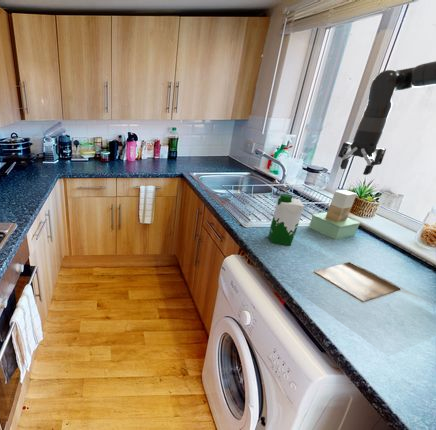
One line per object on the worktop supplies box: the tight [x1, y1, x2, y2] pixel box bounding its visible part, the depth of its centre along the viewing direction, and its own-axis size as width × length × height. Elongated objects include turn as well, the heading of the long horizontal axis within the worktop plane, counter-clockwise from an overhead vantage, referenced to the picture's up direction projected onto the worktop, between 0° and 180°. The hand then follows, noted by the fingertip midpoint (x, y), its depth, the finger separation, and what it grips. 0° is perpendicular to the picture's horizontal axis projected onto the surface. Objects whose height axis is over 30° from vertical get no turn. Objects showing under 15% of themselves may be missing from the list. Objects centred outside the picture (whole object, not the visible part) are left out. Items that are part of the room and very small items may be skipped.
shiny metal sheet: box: [313, 261, 401, 303], centre depth 96 cm, size 18×16×1 cm
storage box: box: [308, 211, 362, 241], centre depth 124 cm, size 13×13×8 cm
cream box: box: [330, 189, 358, 209], centre depth 119 cm, size 6×5×6 cm
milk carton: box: [268, 193, 305, 247], centre depth 116 cm, size 9×9×20 cm
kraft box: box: [326, 203, 352, 222], centre depth 121 cm, size 6×5×6 cm
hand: (353, 171), depth 114 cm, fingers open, 8 cm apart
